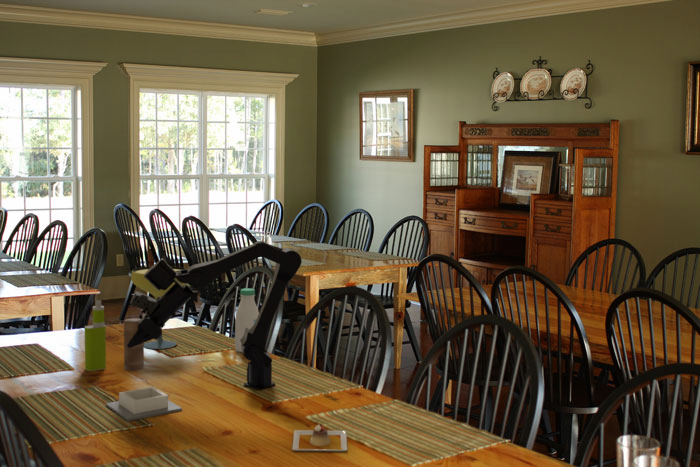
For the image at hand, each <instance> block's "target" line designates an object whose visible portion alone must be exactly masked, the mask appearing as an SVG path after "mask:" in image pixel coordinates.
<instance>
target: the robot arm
mask: <svg viewBox="0 0 700 467" xmlns="http://www.w3.org/2000/svg"><path fill="white" fill-rule="evenodd" d="M259 258H264V259H267V260H269V261H271V262H273V263H275V265H274V266H275V268H274V274H273V279H272V282H271V284H270V286H269V288H268V291H267V293H266V296H265V297H264V301H263V303H262V304H261V308H260V310H259V315H258V317H257V320H256V322H255V324H254V325H253V327H252V328H251V329H248V328H245V332H244V335H243V337H242V338H241V339H240V341H241V349H242V351H243V352H242V354H243V357H244V358H245V359H246V360H248V362H247V367H246V382H243V386H244V387H245V386H246V387H249V388H252V389H255V390H258V391H259V390H263V389H266V388H270V387H273V386H276V382H273V381H272V375H273V374H272V372H273V371H272V370H273V369H272V368H273V364H272V362H273V359H272V356H271V355H270V352H269V351H267V349H266V347H267V342H268V334H269V330H270V327H271V325H272V322H273V319H274V318H275V314H276V313H277V310H278V308H279V305H280V304H281V301H282V298H283V295H284V293H285V291H286V289H287V286H288V285H289V283H290V282H291V280H292V279H293V278H294V277H295V276H296V274H297V272H298V271H299V269H300V268H301V266H302V260H303V259H302V257H301V255H300V254H299V253H298V252H297V251H296V250H295V249H293V248H290V247H285V248H281V247H278V246H276V245H272V244H270V243H267V242H265V241H263V240H257V241H254V243H252V244H249V245H248V246H245V247H243V248H241V249H238V250H236V251H234V252H232V253H229V254H227V255H225V256H223V257H219V258H218V259H215V260H211V261H205V262H204V261H203V262H200V263H196V264H193V265H191V266H189V267H188V268H185V269H186V270H179V271H174V270H173V269H172V268H171V267H170V266H171V265H169V264H168V263H167V261H166V260H165V259H164V258H161V259H160V260H159V261H156V263H155V264H153V265H151V266H149V267H150V268H149V269H148V271H147V272H146V273H145V274H144V275H143V277H145V278H146V279H147V280H148V281H149V282H150V283H151V284H152V285H153V286H154V287H155V288H156V289H157V290H158V291H159V290H161V289H162V290H164V291H165V290H166V289H167V288H168V287H169V286H170V285H171V284H172V283H173V282H175V284H174V285H173V286H172V287H171V288H170V289H169V290H168V291H167V292H166V293H165V294H164V295H163V296H162V297H161V296H160V297H158V298H157V299H156V298H153V297H151V296H150V295H147V294H145V293H142V292H140V291H136V290H135V291H134V294H133V296H132V298H131V301H130V304H129V305H131V306H132V307H135V308H136V307H137V308H138V309H139V308H140V309H141V310H140V313H139V315H138V319H141V320H140V321H138V330H137V332H136V333H135V334H134V336H133V337H132V338H131V340H130V341H129V343H128V344H127V347H129V348H132V347H134V346H136V345H139V344H141V343H144V344H145V343H147V342H150V341H151V340H155V341H157V340H158V338H159V337H160V336H161V335H162V336H163V328H164V327H165V326H166V323H167V322H168V321H169V320H170V319H171V318H172V317H173V318H174V317H175V316H176V315H177V312H178V311H179V310H180V309H181V308H183V306H184V305H186V303H187V302H188V301H189V300H192V301H193V302H194V303H198V302H199V301H198V300H199V299H198V296H199V291H198V290H200V289H203V288H205V287H206V286H208V285H209V284H211V283H213V281H215V280H216V279H217V278H218V277H220V276H221V275H223V274H225V273H228V272H229V271H232V270H233V269H236V268H238V267H241V266H243V265H245V264H247V263H249V262H252V261H255V260H256V259H259ZM175 278H176V279H177V280H178V281H179V282H180V283H186V284H185V285H181V284H180V283H179V282H178V281H177V280H176V279H175ZM192 288H193V289H195V290H193V289H192ZM141 313H142V314H141Z"/></svg>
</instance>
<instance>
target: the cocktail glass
mask: <svg viewBox="0 0 700 467" xmlns="http://www.w3.org/2000/svg"><path fill="white" fill-rule="evenodd" d="M169 266H170V267H171V268H172V269H173V270H174V271H179V270H186V269H187V268H184V267H180V266H171V265H169ZM150 267H151V266H143V267H137V268H135V269H132V271H131V275H130V278H131V282H132V284H134V286H136V287H137V288H138V289H140V290H142V291H145V292H147V293H149V294H151V295H152V296H153V297H154V299H157V298H158V297H160V296H161V297H162V296H163V295H164V294H165V293H166V292H167V291H168V290H169V289H170V288H171V287H172V286H173V285H174V284H175V282H173V283H172V284H171V285H170V286H169V287H168V288H167V289H166V290H165V291H164V290H162V289H161V290H159V291H158V290H157V289H156V288H155V287H154V286H153V285H152V284H151V283H150V282H149V281H148V280H147V279H146V278H145V277H143V275H144V274H145V273H146V272H147V271H148V269H149V268H150ZM175 279H176V278H175ZM176 280H177V279H176ZM177 281H178V280H177ZM178 282H179V281H178ZM179 283H180V282H179ZM180 284H181V285H183V286H184V285H185V284H186V283H180ZM186 285H187V284H186ZM175 345H176V342H175V341H173V340H172V341H170V340H164V339H163V334H162V335H161V336H160V337H159V338H158V339H157V340H153V341H147V342H144V349H148V350H156V349H161V350H165V349H164V348H170V347H173V346H175ZM170 349H171V348H170ZM156 351H157V350H156Z"/></svg>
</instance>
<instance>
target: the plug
mask: <svg viewBox="0 0 700 467" xmlns="http://www.w3.org/2000/svg"><path fill="white" fill-rule="evenodd" d="M140 320H141V319H139V318H128V319H124V320H123V360H124V362H123V363H124V364H123V365H124V366H123V367H124V368H123V369H124V370H125V371H127V372H138V371H142V370H144V369H145V366H144V365H145V355H144V354H145V353H144V352H145V347H144V344H145V342H144V343H141V344H139V345H136V346H134V347H132V348H129V347H127V344H128V343H129V341H130V340H131V338H132V337H133V336H134V334H135V333H136V332H137V330H138V321H140Z"/></svg>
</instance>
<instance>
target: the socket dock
mask: <svg viewBox="0 0 700 467" xmlns="http://www.w3.org/2000/svg"><path fill="white" fill-rule="evenodd" d="M105 406H106V407H107V406H108V407H107V408H108V409H110V410H111V409H112V411H113V412H114V411H115V412H114V413H115V414H117V415H118V414H119V415H118V416H120V417H121V418H123V419H124V420H125V421H127V422H131V421H135V420H136V421H137V420H141V419H146V418H150V417H157V416H161V415H165V414H171V413H176V412H180V411H181V412H182V411H183V407H181V406H180V405H177V404H176V403H175V402H172V401H171V400H169V395H168V394H166V393H164V392H163V391H161V390H159V389H157V387H154V386H149V387H148V386H147V387H142V388H138V389H130V390H126V391H120V392H118V400H117V401H112V402H106V403H105Z"/></svg>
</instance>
